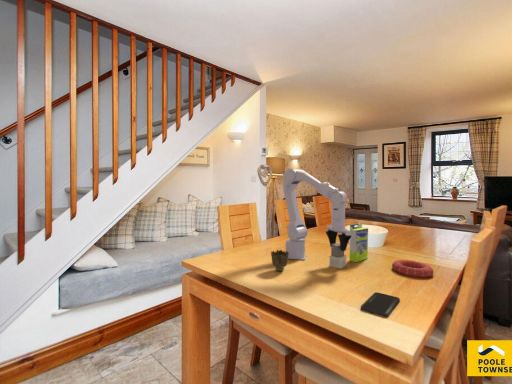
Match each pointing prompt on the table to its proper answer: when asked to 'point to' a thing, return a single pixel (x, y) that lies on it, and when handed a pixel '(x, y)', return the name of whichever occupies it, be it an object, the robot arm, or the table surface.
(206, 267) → the table surface
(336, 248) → the charcoal block
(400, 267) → the torus
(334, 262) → the small box
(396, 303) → the phone
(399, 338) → the table surface
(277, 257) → the cup
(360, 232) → the box
